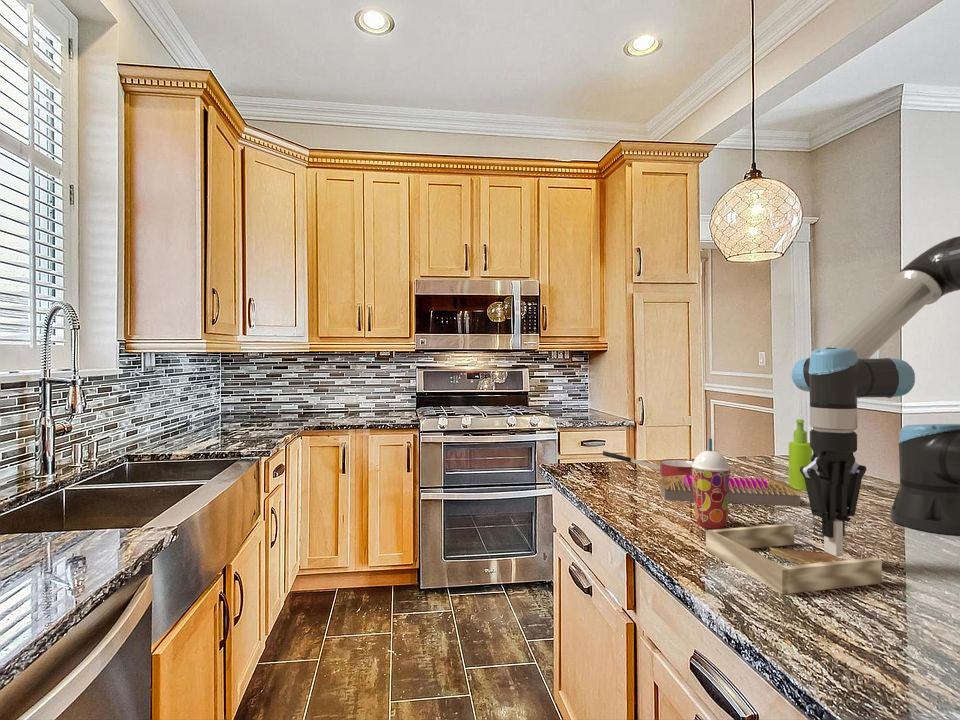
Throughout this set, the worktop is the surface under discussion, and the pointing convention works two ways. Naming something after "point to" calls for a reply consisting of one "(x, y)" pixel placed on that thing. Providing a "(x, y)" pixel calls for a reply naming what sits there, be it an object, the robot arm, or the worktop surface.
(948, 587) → the worktop surface
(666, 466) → the frying pan
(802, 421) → the soap dispenser
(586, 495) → the worktop surface
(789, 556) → the shard
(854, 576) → the box
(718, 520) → the smoothie
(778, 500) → the pink bristle brush
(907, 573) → the worktop surface
